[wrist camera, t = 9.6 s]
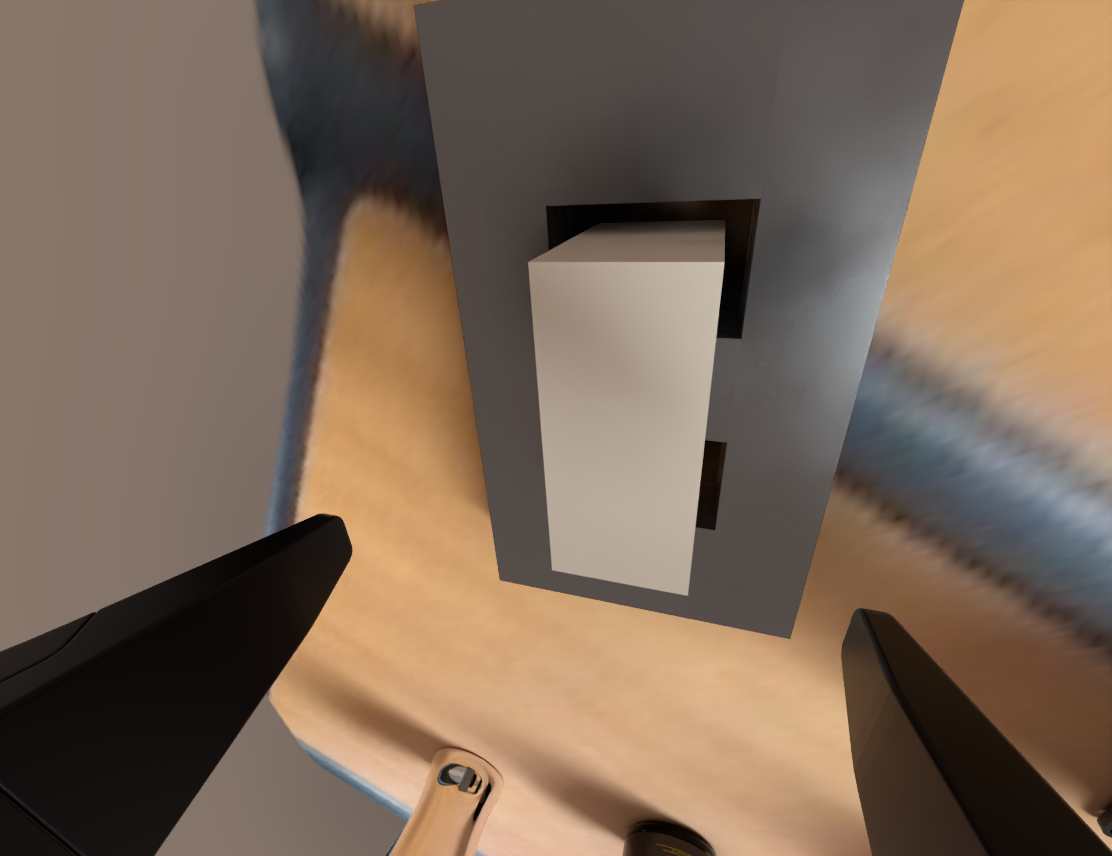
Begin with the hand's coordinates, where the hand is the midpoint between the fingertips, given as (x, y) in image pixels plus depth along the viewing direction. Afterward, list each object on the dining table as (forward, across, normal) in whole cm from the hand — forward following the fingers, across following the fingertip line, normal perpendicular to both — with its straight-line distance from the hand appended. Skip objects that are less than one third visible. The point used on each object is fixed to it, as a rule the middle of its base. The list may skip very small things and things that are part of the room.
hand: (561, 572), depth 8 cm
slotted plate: (+11, 0, 0) cm, 11 cm away
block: (+11, 0, 0) cm, 11 cm away
